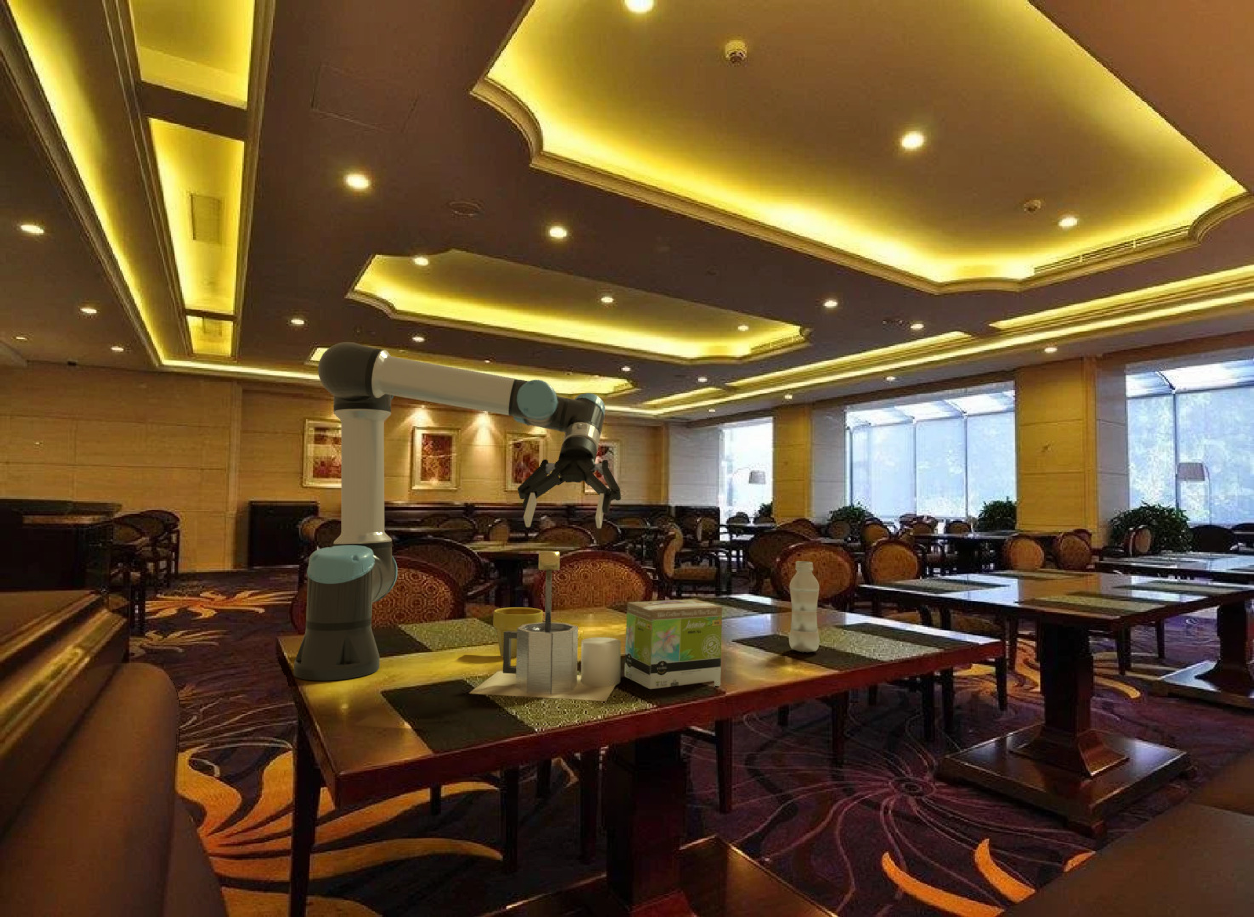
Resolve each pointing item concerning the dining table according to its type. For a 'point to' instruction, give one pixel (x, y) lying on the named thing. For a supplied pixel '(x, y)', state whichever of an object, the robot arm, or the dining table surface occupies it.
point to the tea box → (673, 643)
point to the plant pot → (514, 623)
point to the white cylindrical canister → (600, 661)
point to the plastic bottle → (804, 609)
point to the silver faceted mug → (543, 658)
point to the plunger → (548, 582)
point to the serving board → (507, 687)
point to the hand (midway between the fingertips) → (562, 522)
